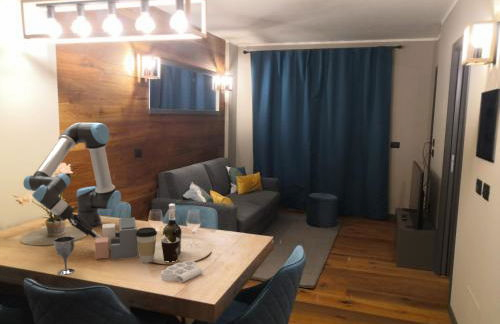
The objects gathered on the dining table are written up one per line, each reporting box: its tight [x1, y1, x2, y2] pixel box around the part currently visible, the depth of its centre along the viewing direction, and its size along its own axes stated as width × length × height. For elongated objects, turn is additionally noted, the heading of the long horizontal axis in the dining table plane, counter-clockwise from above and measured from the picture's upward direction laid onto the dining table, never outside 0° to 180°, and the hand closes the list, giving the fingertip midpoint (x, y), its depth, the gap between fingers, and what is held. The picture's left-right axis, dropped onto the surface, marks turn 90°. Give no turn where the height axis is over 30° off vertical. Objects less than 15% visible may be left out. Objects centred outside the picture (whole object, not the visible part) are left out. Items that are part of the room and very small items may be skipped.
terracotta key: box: [94, 237, 110, 260], centre depth 196 cm, size 7×6×8 cm
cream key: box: [101, 223, 116, 252], centre depth 206 cm, size 7×6×12 cm
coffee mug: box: [160, 237, 180, 262], centre depth 193 cm, size 12×9×10 cm
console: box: [110, 216, 139, 260], centre depth 203 cm, size 22×12×15 cm, turn 18°
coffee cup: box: [136, 226, 158, 264], centre depth 190 cm, size 10×10×15 cm
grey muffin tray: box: [160, 260, 204, 283], centre depth 176 cm, size 3×18×15 cm
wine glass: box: [53, 235, 76, 276], centre depth 177 cm, size 8×8×15 cm
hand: (100, 239), depth 205 cm, fingers closed
